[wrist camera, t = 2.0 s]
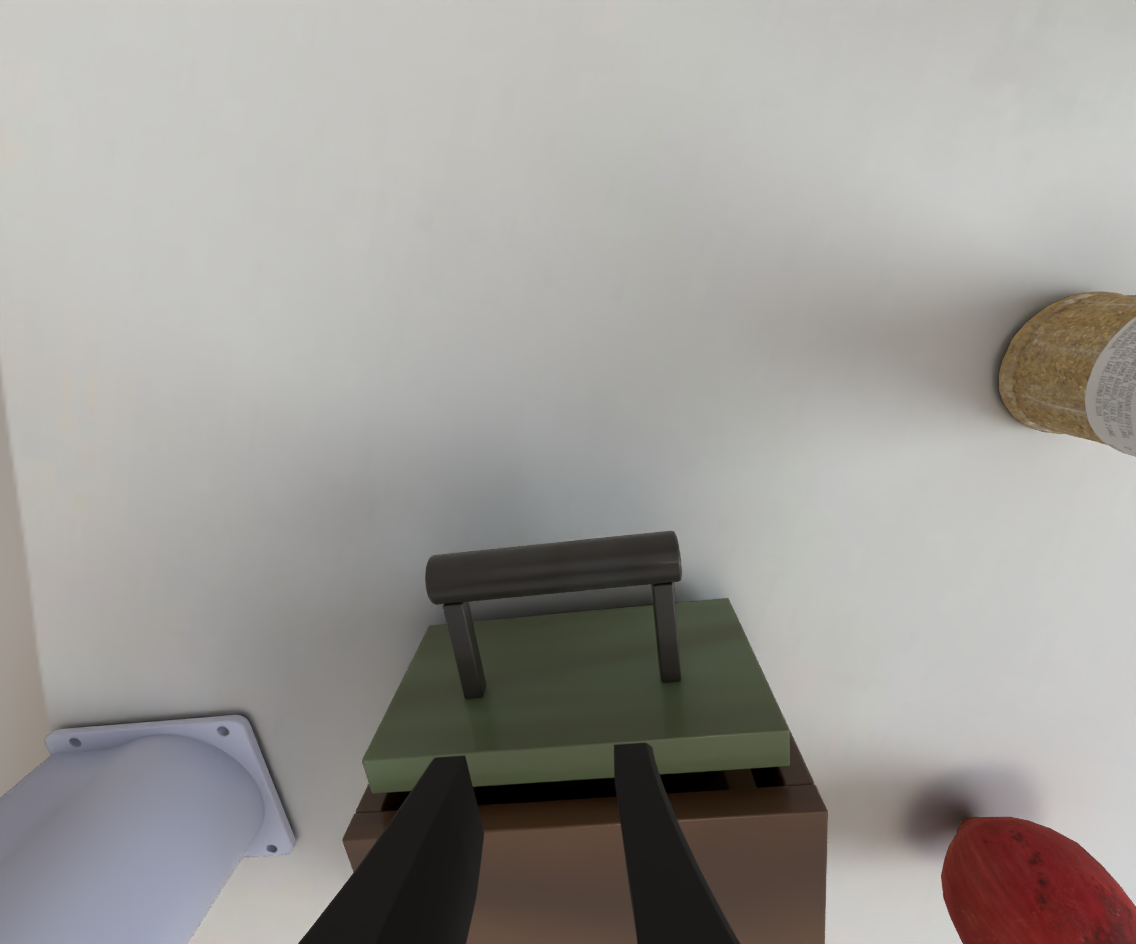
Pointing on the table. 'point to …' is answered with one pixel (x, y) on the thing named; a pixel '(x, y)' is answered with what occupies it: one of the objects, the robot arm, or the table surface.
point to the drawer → (578, 680)
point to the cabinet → (598, 867)
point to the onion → (1030, 887)
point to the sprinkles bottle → (1076, 370)
